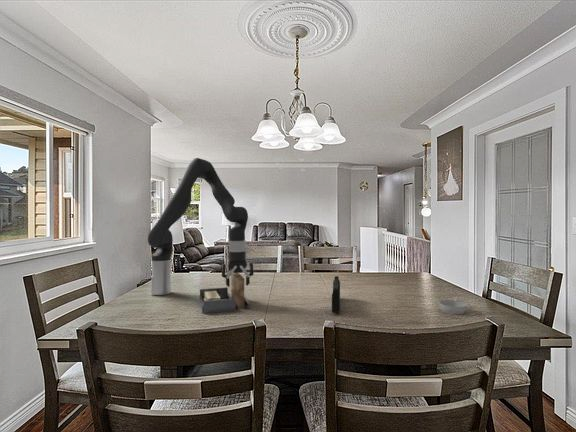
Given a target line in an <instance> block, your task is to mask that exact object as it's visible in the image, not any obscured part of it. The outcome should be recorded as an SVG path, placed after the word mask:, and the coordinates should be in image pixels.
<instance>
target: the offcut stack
mask: <svg viewBox="0 0 576 432" xmlns="http://www.w3.org/2000/svg"><path fill="white" fill-rule="evenodd" d="M220 299H221V298H220V296H219V295H218V293H217V292H216V291H208V292H205V298H204V300H203V302H204V301H207V300H220Z"/></svg>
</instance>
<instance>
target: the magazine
mask: <svg viewBox="0 0 576 432" xmlns="http://www.w3.org/2000/svg"><path fill="white" fill-rule="evenodd" d="M332 283H333V284H332V293H331V313H333V314H339V313H341V281H340V278H339V276H338V275H337V276H334V279H333V281H332Z"/></svg>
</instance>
